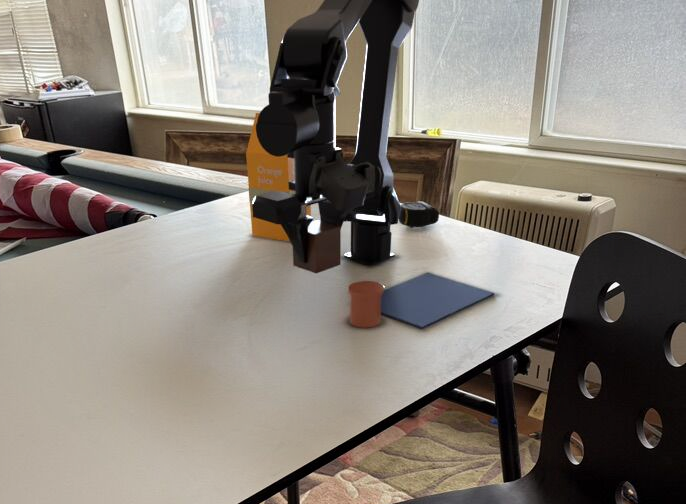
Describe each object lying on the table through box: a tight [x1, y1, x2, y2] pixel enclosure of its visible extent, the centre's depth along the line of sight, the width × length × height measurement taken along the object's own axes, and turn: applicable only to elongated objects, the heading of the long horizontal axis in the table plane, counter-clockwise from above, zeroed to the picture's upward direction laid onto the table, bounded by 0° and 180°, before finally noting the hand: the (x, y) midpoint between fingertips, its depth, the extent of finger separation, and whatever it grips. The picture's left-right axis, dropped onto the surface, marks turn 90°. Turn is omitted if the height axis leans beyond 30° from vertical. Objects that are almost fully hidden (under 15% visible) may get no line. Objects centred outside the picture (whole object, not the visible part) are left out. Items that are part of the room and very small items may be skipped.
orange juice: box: [245, 112, 312, 242], centre depth 126 cm, size 8×9×20 cm
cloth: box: [381, 272, 495, 330], centre depth 104 cm, size 13×17×1 cm
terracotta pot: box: [347, 280, 385, 329], centre depth 97 cm, size 5×5×5 cm
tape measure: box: [398, 200, 440, 229], centre depth 132 cm, size 7×7×4 cm
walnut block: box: [292, 219, 342, 274], centre depth 101 cm, size 5×5×6 cm
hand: (316, 258), depth 102 cm, fingers closed on walnut block, 5 cm apart
